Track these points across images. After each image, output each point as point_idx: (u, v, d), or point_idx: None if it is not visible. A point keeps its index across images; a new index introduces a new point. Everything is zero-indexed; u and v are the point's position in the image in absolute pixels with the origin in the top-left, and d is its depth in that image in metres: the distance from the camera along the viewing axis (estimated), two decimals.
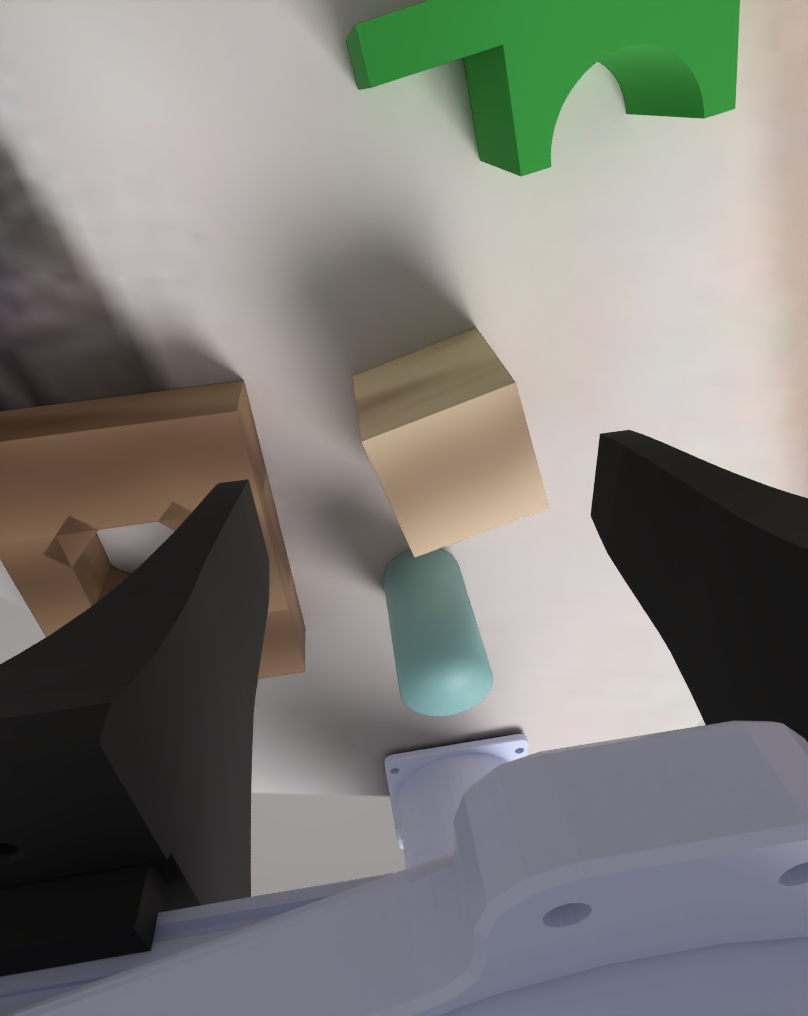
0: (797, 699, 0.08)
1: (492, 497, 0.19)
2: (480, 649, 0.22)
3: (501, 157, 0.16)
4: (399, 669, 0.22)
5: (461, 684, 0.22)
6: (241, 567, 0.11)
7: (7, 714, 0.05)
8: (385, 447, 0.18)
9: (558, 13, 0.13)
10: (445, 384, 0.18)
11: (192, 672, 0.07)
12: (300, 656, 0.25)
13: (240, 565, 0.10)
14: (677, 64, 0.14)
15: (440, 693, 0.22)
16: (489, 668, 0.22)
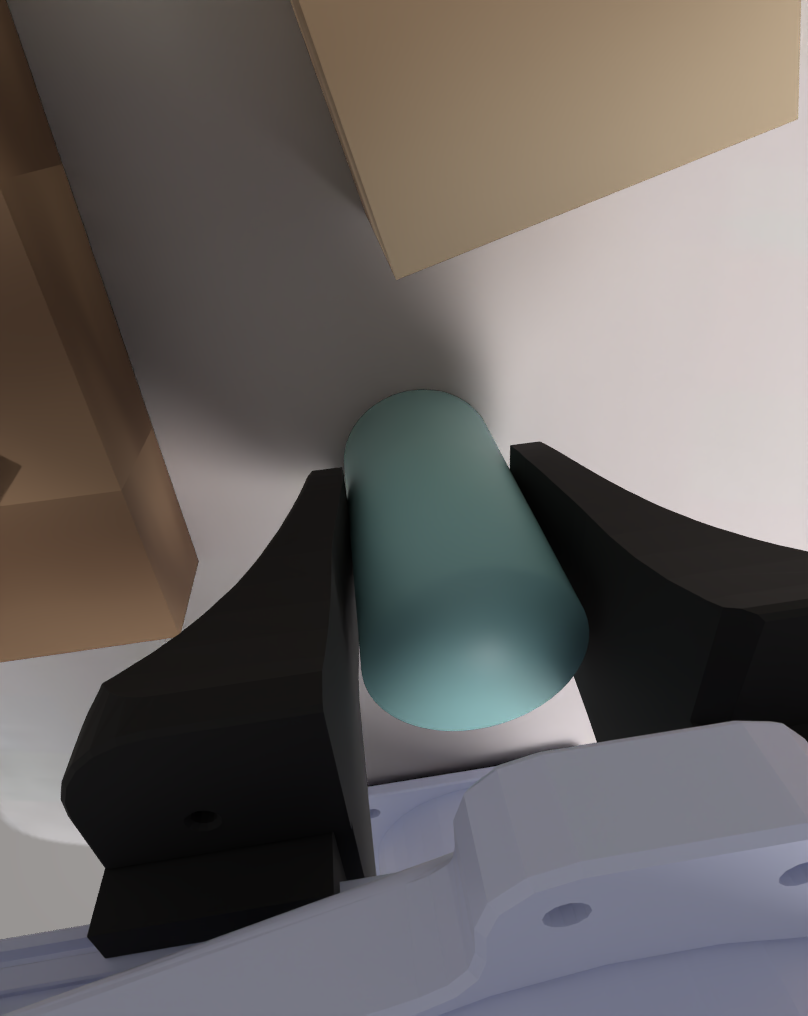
0: (655, 721, 0.08)
1: (640, 48, 0.06)
2: (559, 569, 0.09)
3: None
4: (361, 617, 0.09)
5: (512, 653, 0.09)
6: (345, 552, 0.11)
7: (218, 683, 0.05)
8: None
9: None
10: None
11: (338, 651, 0.08)
12: (166, 603, 0.12)
13: (345, 550, 0.11)
14: None
15: (459, 678, 0.09)
16: (583, 614, 0.09)
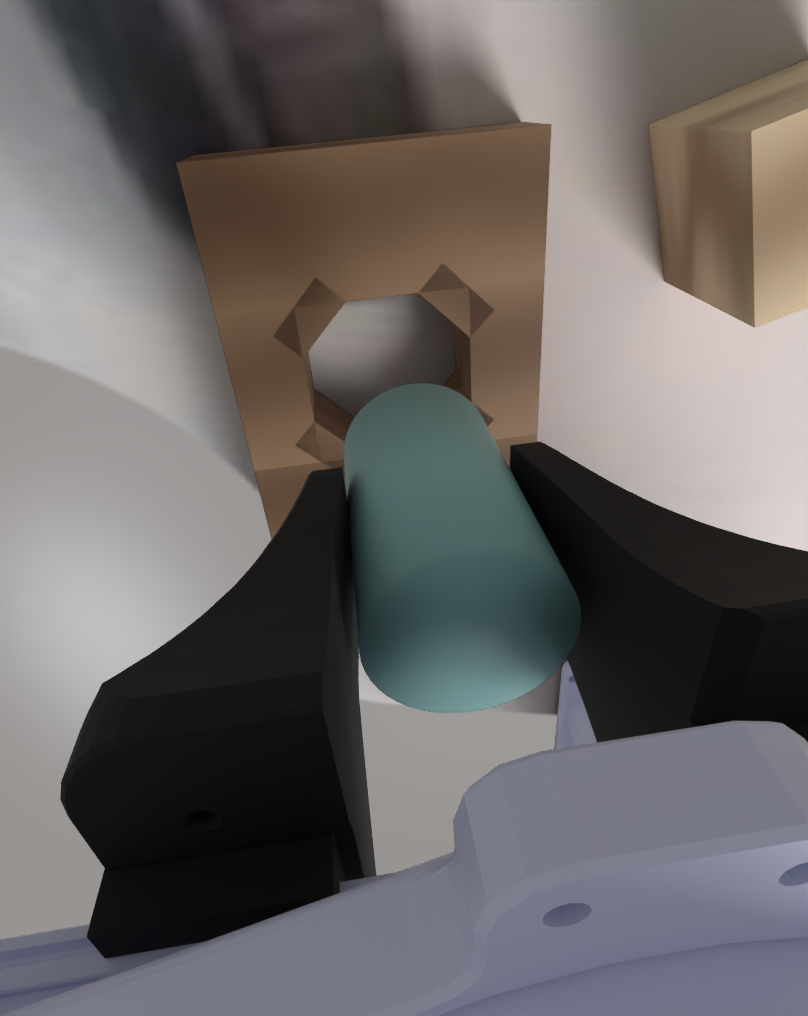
0: (655, 721, 0.08)
1: None
2: (546, 547, 0.09)
3: None
4: (358, 607, 0.09)
5: (506, 633, 0.09)
6: (345, 552, 0.11)
7: (218, 683, 0.05)
8: (777, 143, 0.13)
9: None
10: None
11: (339, 651, 0.08)
12: None
13: (345, 550, 0.11)
14: None
15: (458, 660, 0.09)
16: (572, 590, 0.09)
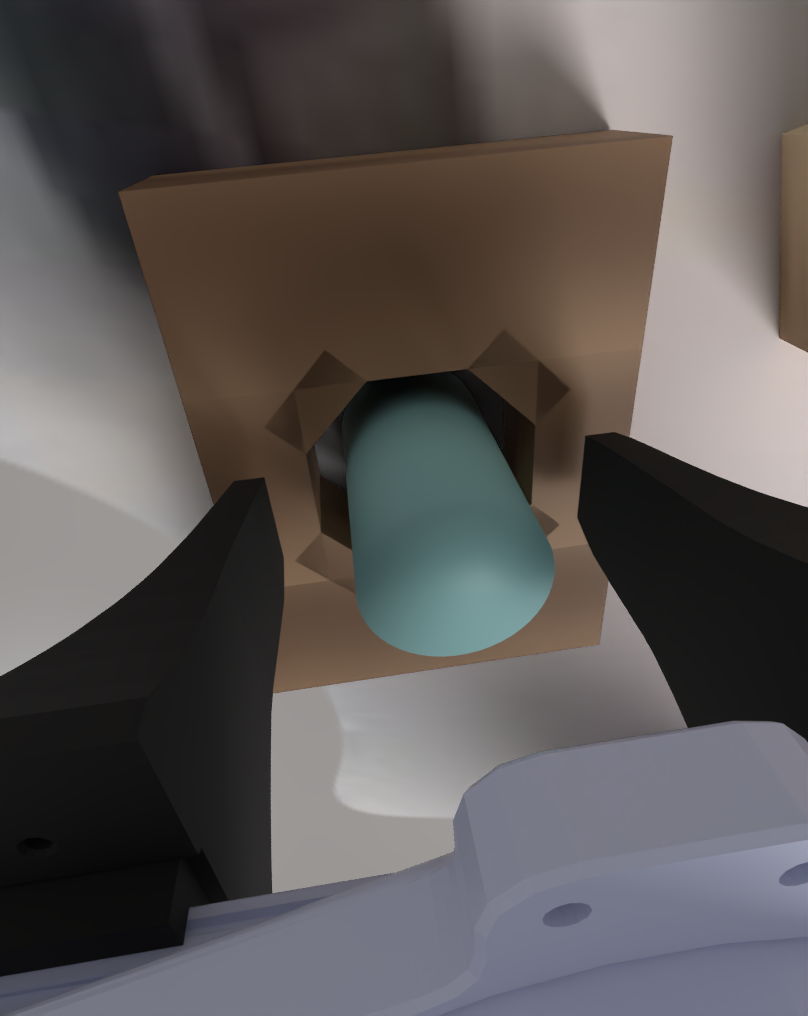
0: (774, 703, 0.08)
1: None
2: (523, 503, 0.10)
3: None
4: (355, 558, 0.10)
5: (487, 581, 0.10)
6: (258, 564, 0.11)
7: (42, 709, 0.05)
8: None
9: None
10: None
11: (215, 669, 0.08)
12: (601, 619, 0.16)
13: (258, 562, 0.11)
14: None
15: (444, 606, 0.11)
16: (546, 541, 0.10)
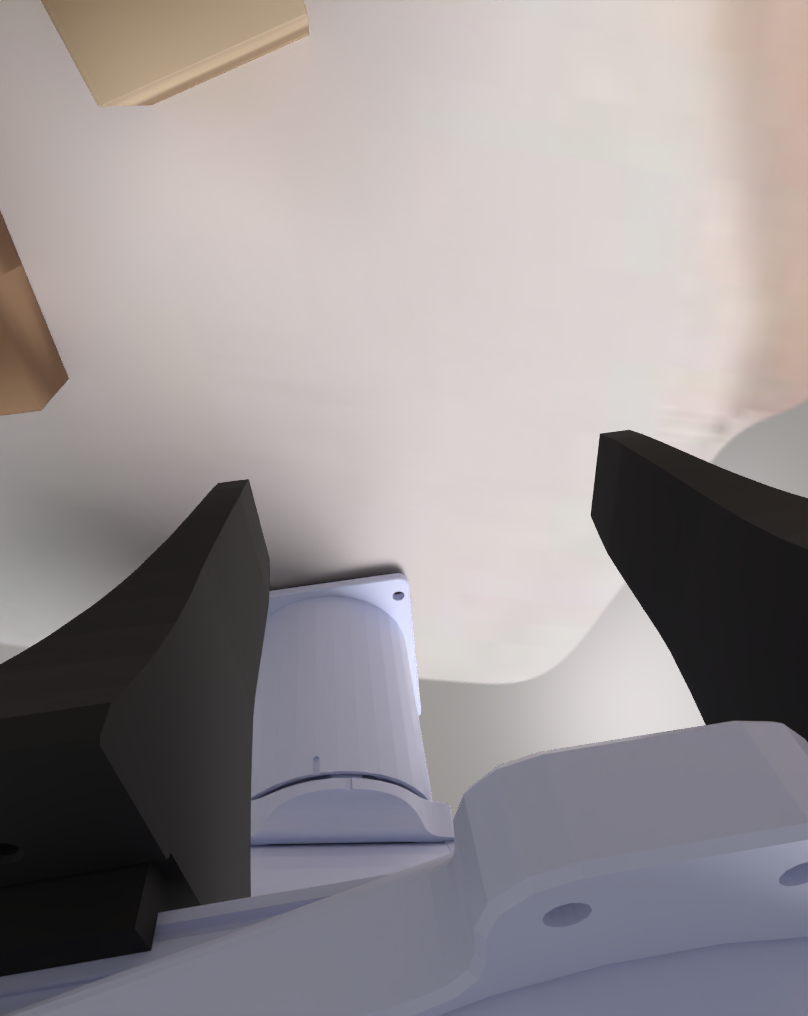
0: (797, 699, 0.08)
1: None
2: None
3: None
4: None
5: None
6: (241, 567, 0.11)
7: (7, 715, 0.05)
8: None
9: None
10: None
11: (191, 672, 0.07)
12: (28, 381, 0.18)
13: (240, 565, 0.10)
14: None
15: None
16: None
